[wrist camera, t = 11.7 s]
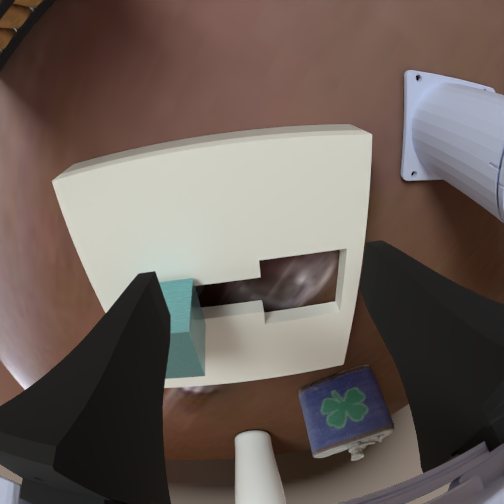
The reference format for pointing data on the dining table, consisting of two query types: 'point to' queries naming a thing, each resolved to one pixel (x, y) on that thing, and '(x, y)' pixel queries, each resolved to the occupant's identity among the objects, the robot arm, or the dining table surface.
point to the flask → (345, 412)
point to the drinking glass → (256, 470)
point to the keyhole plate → (230, 234)
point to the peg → (185, 329)
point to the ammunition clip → (18, 23)
